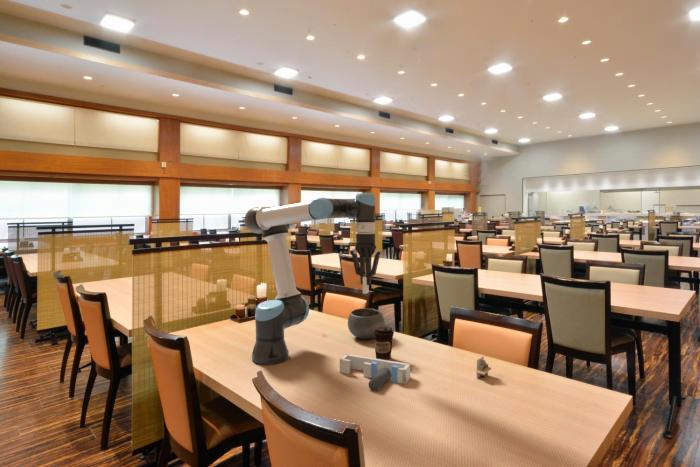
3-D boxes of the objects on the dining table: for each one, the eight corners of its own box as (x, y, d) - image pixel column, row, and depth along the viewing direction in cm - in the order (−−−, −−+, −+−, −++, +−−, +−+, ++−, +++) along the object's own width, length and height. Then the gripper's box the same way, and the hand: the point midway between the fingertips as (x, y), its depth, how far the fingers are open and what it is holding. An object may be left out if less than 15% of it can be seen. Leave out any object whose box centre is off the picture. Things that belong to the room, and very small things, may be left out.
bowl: (390, 335, 196) (391, 310, 196) (373, 346, 181) (373, 318, 180) (360, 329, 206) (359, 305, 205) (340, 339, 191) (340, 313, 190)
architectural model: (491, 377, 148) (492, 357, 148) (484, 383, 143) (484, 363, 142) (483, 375, 150) (483, 355, 150) (475, 380, 145) (475, 360, 145)
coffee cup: (392, 363, 160) (392, 331, 160) (372, 362, 162) (372, 330, 161) (394, 355, 169) (394, 325, 168) (375, 354, 171) (375, 324, 170)
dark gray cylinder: (380, 390, 135) (377, 379, 136) (370, 391, 137) (367, 380, 137) (391, 377, 146) (389, 366, 147) (381, 378, 148) (379, 367, 148)
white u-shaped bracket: (339, 372, 152) (339, 358, 152) (346, 366, 158) (346, 352, 158) (405, 384, 141) (405, 368, 141) (410, 377, 147) (410, 362, 147)
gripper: (346, 233, 154) (346, 293, 156) (378, 234, 149) (378, 296, 150) (354, 232, 161) (354, 289, 162) (384, 232, 156) (384, 292, 157)
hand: (365, 292), depth 156 cm, fingers closed
